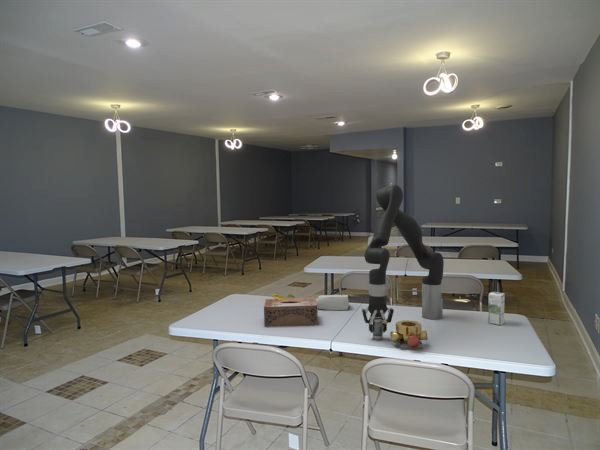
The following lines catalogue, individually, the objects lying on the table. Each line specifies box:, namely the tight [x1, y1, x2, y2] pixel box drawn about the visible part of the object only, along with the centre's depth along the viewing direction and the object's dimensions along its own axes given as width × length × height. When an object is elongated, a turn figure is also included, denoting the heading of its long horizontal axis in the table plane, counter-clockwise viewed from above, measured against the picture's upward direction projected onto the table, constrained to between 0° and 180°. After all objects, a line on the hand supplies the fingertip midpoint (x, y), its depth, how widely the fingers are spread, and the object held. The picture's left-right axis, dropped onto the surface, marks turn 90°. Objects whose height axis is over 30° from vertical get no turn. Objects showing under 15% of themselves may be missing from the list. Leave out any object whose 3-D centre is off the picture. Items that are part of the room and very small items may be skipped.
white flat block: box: [315, 294, 350, 311], centre depth 234 cm, size 8×23×25 cm
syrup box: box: [487, 291, 506, 326], centre depth 195 cm, size 6×6×14 cm
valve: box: [389, 319, 428, 351], centre depth 169 cm, size 14×12×9 cm
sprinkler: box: [271, 293, 296, 299], centre depth 236 cm, size 22×6×20 cm
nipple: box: [372, 317, 384, 341], centre depth 178 cm, size 4×4×9 cm
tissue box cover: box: [263, 297, 319, 328], centre depth 205 cm, size 26×14×10 cm, turn 91°
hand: (377, 331), depth 179 cm, fingers open, 5 cm apart
